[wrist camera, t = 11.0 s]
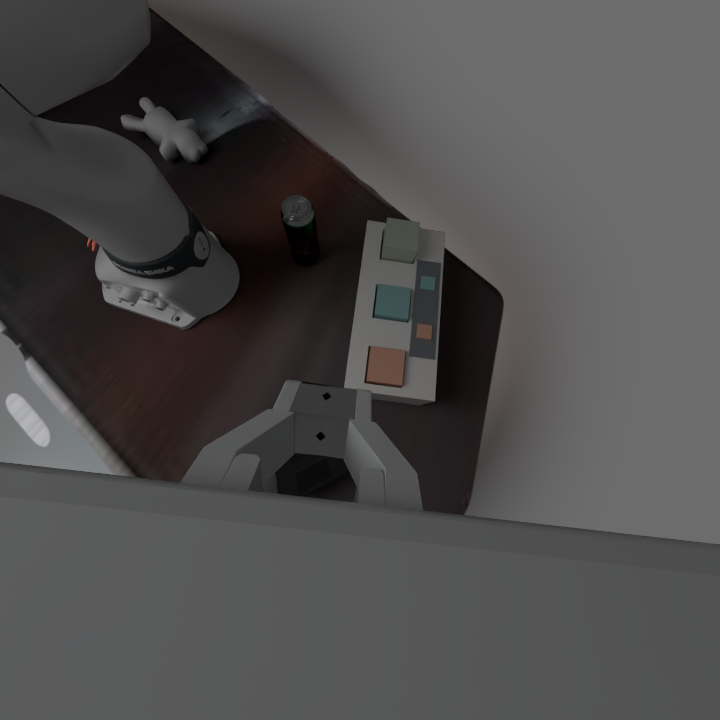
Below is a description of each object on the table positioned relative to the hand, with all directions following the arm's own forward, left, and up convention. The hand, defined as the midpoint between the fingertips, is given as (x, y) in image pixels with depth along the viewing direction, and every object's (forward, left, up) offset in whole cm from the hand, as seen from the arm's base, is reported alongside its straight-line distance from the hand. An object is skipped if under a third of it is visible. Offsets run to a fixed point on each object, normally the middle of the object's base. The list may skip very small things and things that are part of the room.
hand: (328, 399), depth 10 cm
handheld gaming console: (-4, -6, -37) cm, 38 cm away
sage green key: (+6, +28, -30) cm, 42 cm away
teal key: (+6, +18, -33) cm, 38 cm away
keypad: (+7, +18, -37) cm, 42 cm away
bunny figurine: (-41, +50, -37) cm, 74 cm away
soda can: (-10, +29, -37) cm, 48 cm away
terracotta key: (+6, +8, -33) cm, 34 cm away
